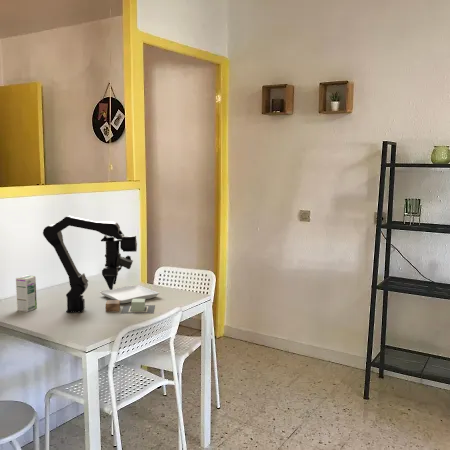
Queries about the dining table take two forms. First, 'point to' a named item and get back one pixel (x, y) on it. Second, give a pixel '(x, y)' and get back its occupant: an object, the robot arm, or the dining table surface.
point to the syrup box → (26, 293)
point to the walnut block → (112, 305)
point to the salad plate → (129, 293)
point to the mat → (148, 310)
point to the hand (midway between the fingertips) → (112, 286)
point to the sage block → (138, 305)
